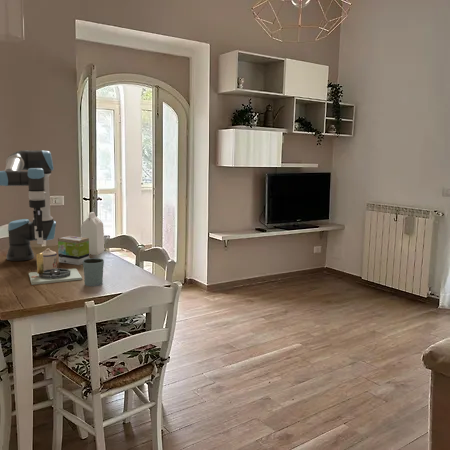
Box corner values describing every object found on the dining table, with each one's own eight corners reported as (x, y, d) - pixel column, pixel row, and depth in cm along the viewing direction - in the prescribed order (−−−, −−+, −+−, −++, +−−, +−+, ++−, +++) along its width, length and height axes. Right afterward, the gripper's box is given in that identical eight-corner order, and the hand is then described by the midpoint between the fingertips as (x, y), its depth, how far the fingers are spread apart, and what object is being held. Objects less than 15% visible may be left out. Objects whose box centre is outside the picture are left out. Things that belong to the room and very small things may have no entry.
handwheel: (71, 270, 253) (70, 249, 251) (69, 277, 238) (68, 256, 236) (39, 271, 249) (38, 250, 247) (35, 279, 234) (34, 257, 232)
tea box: (58, 262, 275) (57, 238, 272) (69, 259, 284) (68, 235, 282) (78, 265, 269) (78, 240, 267) (90, 261, 278) (89, 237, 276)
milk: (88, 250, 310) (87, 211, 306) (104, 250, 309) (104, 211, 304) (80, 254, 298) (79, 213, 294) (97, 254, 297) (96, 214, 293)
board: (28, 274, 247) (28, 272, 247) (76, 270, 258) (75, 268, 258) (31, 284, 230) (31, 282, 229) (82, 279, 240) (82, 277, 240)
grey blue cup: (96, 280, 240) (95, 257, 238) (108, 283, 234) (108, 260, 232) (79, 284, 232) (78, 260, 230) (91, 288, 226) (90, 263, 224)
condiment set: (56, 270, 257) (56, 250, 255) (39, 271, 254) (38, 250, 252) (58, 265, 268) (57, 245, 266) (41, 266, 266) (40, 246, 264)
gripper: (47, 202, 225) (49, 245, 229) (42, 196, 247) (44, 235, 251) (30, 202, 222) (32, 246, 225) (27, 196, 244) (29, 236, 247)
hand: (39, 241), depth 238 cm, fingers open, 13 cm apart
